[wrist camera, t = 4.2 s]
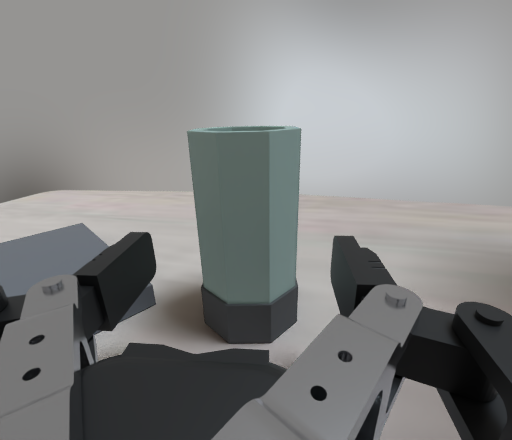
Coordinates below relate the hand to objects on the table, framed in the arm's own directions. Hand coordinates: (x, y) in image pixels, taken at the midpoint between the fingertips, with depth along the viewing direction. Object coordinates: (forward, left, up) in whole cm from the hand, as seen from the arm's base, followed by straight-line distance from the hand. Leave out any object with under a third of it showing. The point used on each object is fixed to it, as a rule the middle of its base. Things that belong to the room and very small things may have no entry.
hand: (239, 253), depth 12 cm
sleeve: (-3, -2, -6) cm, 7 cm away
